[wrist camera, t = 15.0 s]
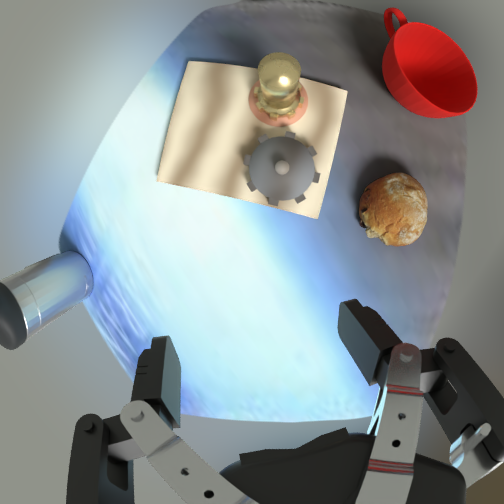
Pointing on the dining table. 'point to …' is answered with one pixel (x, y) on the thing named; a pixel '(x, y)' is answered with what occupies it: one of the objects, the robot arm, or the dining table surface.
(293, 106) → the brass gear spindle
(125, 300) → the dining table surface
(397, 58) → the ceramic cup
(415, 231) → the bread roll
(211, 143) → the gear board
